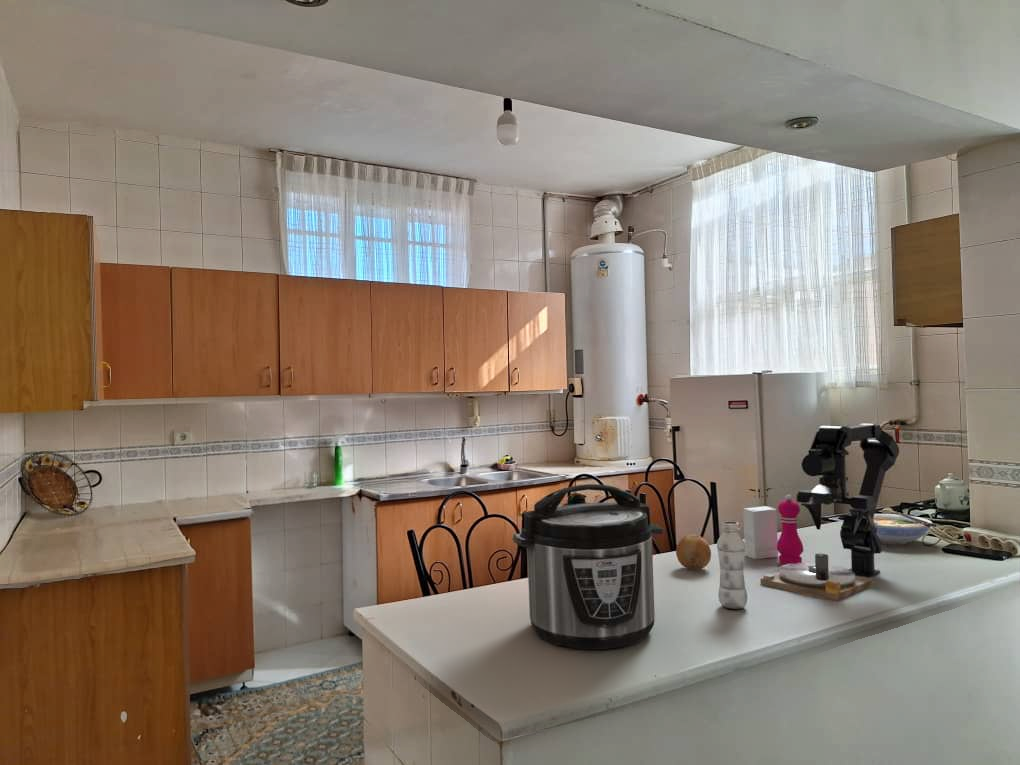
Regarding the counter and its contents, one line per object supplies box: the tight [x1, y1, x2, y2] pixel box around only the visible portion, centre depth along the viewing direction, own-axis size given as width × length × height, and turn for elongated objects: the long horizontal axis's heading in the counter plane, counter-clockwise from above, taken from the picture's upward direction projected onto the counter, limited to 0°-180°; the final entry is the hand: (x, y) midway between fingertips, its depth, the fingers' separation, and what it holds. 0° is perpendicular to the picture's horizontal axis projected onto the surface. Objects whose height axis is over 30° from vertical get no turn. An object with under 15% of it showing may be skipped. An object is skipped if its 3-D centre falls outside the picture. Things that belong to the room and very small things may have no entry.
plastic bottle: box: [716, 520, 748, 610], centre depth 162 cm, size 6×7×20 cm
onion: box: [675, 533, 712, 571], centre depth 197 cm, size 10×10×10 cm
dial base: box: [760, 571, 874, 602], centre depth 179 cm, size 20×20×4 cm
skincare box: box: [742, 505, 779, 560], centre depth 210 cm, size 8×6×15 cm
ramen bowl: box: [873, 511, 937, 546], centre depth 225 cm, size 25×23×8 cm
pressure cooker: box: [512, 483, 664, 650], centre depth 149 cm, size 30×28×32 cm
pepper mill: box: [777, 494, 804, 565], centre depth 202 cm, size 7×7×20 cm
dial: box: [778, 553, 856, 588], centre depth 179 cm, size 18×18×8 cm
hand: (835, 531), depth 182 cm, fingers open, 9 cm apart
